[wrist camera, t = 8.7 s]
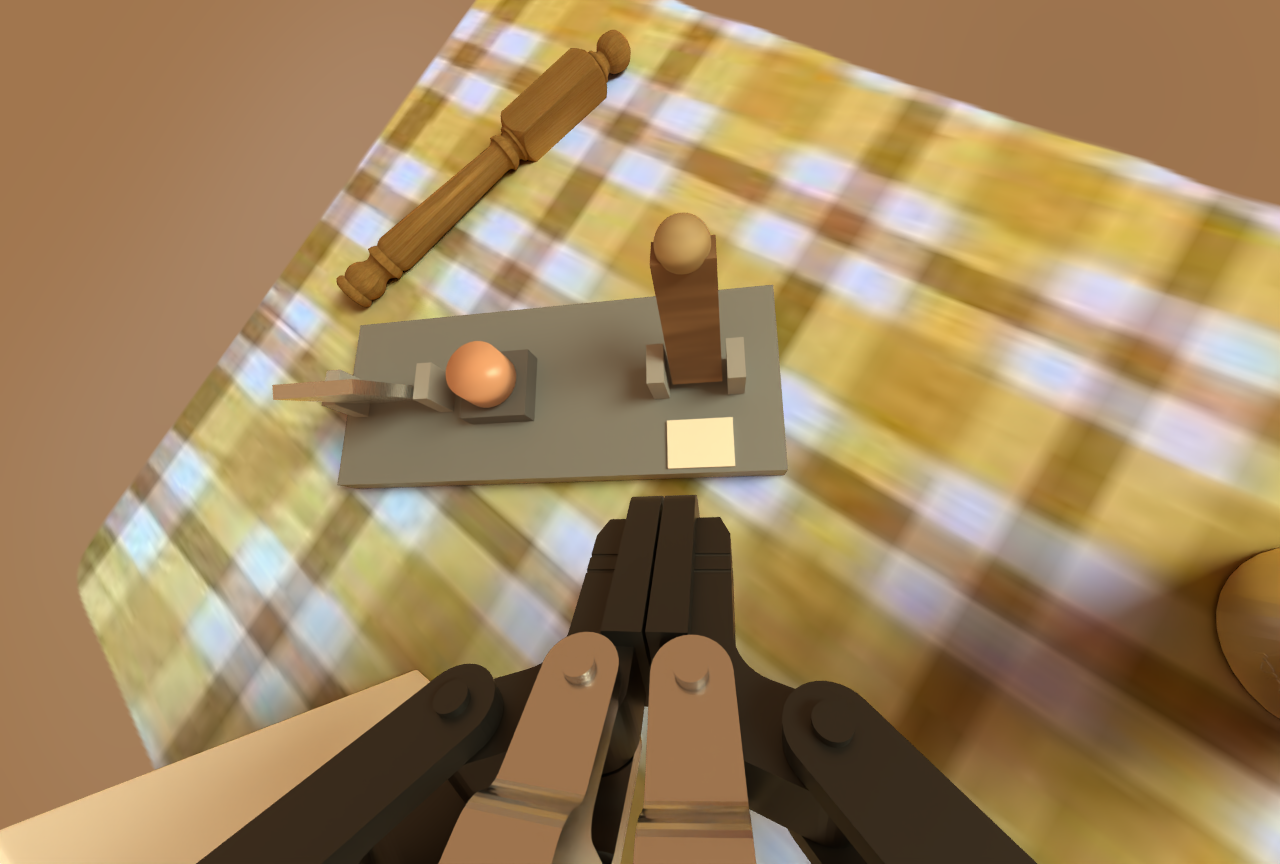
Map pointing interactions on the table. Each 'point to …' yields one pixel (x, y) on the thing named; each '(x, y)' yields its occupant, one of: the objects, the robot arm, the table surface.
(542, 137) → the turned wooden table leg
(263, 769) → the milk
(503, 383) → the terracotta button
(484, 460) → the control panel
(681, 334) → the walnut lever
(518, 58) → the table surface
